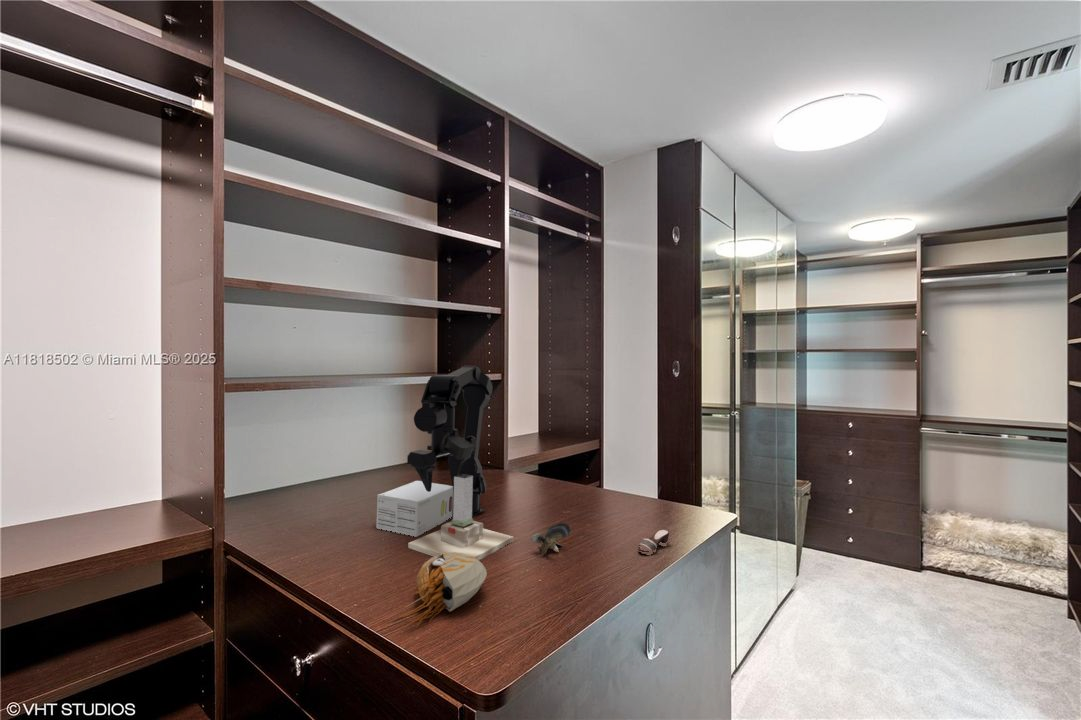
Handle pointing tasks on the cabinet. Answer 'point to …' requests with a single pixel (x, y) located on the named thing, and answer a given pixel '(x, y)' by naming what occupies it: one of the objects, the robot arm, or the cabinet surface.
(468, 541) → the birch stand
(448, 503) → the supplement box
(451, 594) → the nautilus
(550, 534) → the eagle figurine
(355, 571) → the cabinet surface
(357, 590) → the cabinet surface
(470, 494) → the steel post
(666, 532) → the heeled mule
